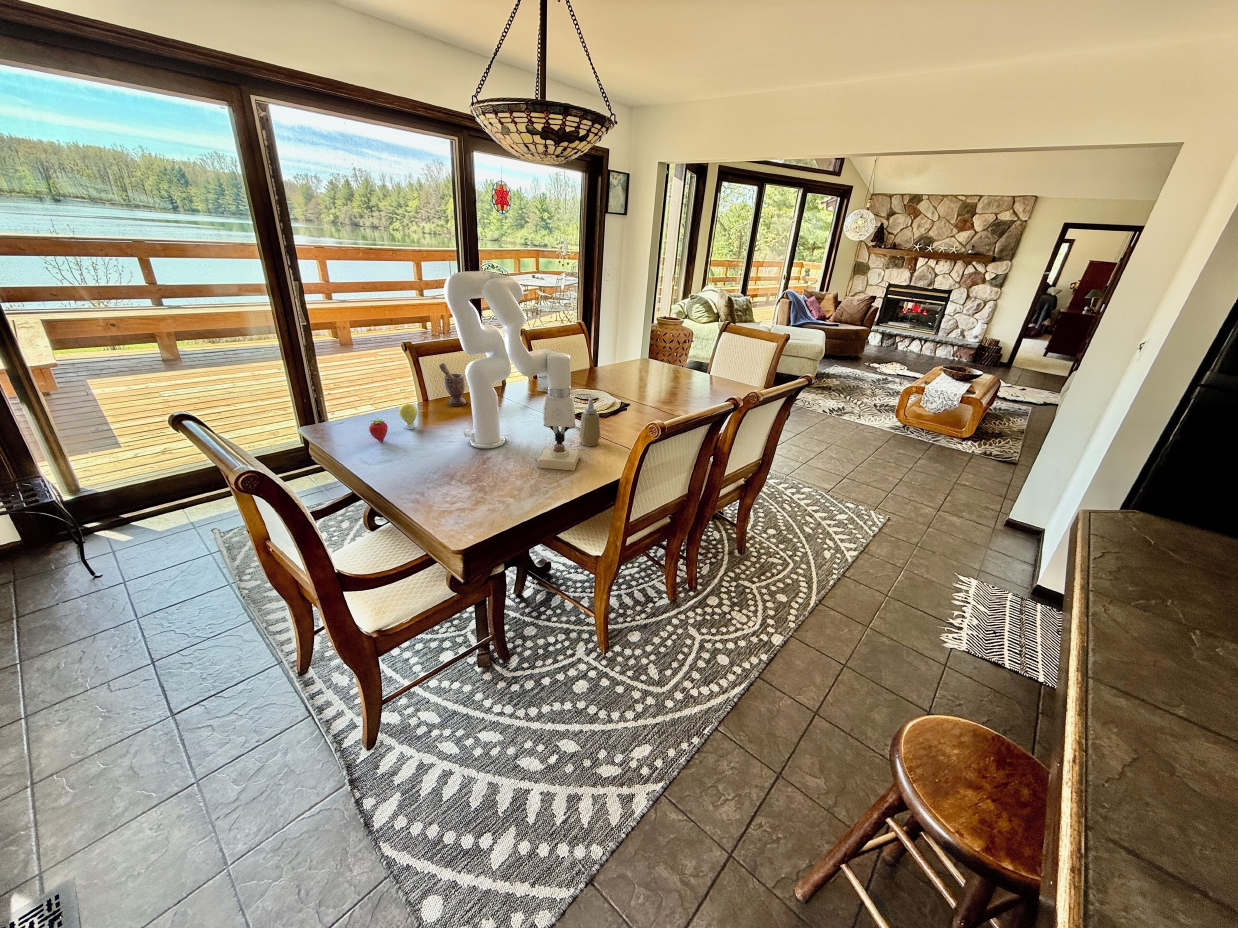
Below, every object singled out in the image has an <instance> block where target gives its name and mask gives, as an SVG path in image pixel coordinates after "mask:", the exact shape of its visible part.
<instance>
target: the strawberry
mask: <svg viewBox="0 0 1238 928" xmlns="http://www.w3.org/2000/svg"><path fill="white" fill-rule="evenodd" d="M376 419H377V420H376ZM376 419H375V420H371V423H370V425H369V426H368V432H369V433H370V435H371V436H372V437H373V438H374V439H375V440H377V441H378V442H379V443H382V442H384V440H385V438H386V437H387V433H388V429H389V427H388V425H387V423H386V421H385V420H383V419H382V418H378V417H376Z"/></svg>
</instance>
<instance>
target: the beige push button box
mask: <svg viewBox="0 0 1238 928" xmlns="http://www.w3.org/2000/svg"><path fill="white" fill-rule="evenodd" d="M579 459H580V450H579V449H570V448H568V447H566V446H565V451H564V452H555V451H554V446H553V447H545V448H544V449H543V452H542V454H541V455H540V457H539V459H538V464H539V468H540V469H550V470H551V469H552V470H563V471H575V469H576V467H577V464H578V462H579Z"/></svg>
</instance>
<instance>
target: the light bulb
mask: <svg viewBox="0 0 1238 928" xmlns="http://www.w3.org/2000/svg"><path fill="white" fill-rule="evenodd" d="M398 414H399V416H400V418H401V419H402V420H403V421H404V422H405V427H406V429H407V430H414V429H415V422H414V421H415V420H416V418H417V416H418V409H417V407H416V406H415V405H413V404H411V403H404V404H403V405H401V406H400V407H399V409H398Z"/></svg>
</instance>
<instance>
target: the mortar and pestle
mask: <svg viewBox="0 0 1238 928" xmlns="http://www.w3.org/2000/svg"><path fill="white" fill-rule="evenodd" d="M438 367H439V368H440V371H441V372H442V373H443V374H444V376H443V380H444V386H445V390H446V392H447V394H448V395H450V399H449V400H448V405H450V406H452V407H461V406H463V405H466V404H467V403H466V402H467V401H466V400H465V398H464V397H462V396H463V394H464V393H465V388H466V382H465V374H464V373H455V372H454V373H451V371H450V369H449V367H448V366H447V365H446V363H444V362H442V363H440V364H439V366H438Z"/></svg>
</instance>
